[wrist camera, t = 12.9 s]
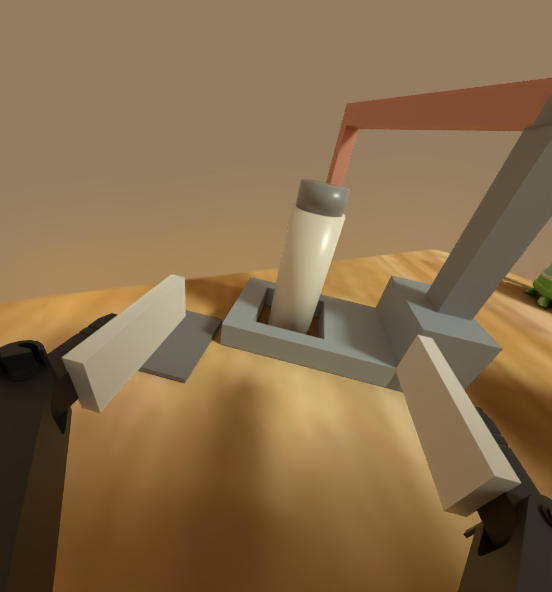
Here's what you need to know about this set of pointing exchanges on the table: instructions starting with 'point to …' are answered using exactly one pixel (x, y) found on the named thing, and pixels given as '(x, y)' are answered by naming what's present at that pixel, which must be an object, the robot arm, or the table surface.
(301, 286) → the bottle
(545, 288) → the turtle holder
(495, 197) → the dock
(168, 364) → the mat
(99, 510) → the table surface
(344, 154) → the pink bent bar
